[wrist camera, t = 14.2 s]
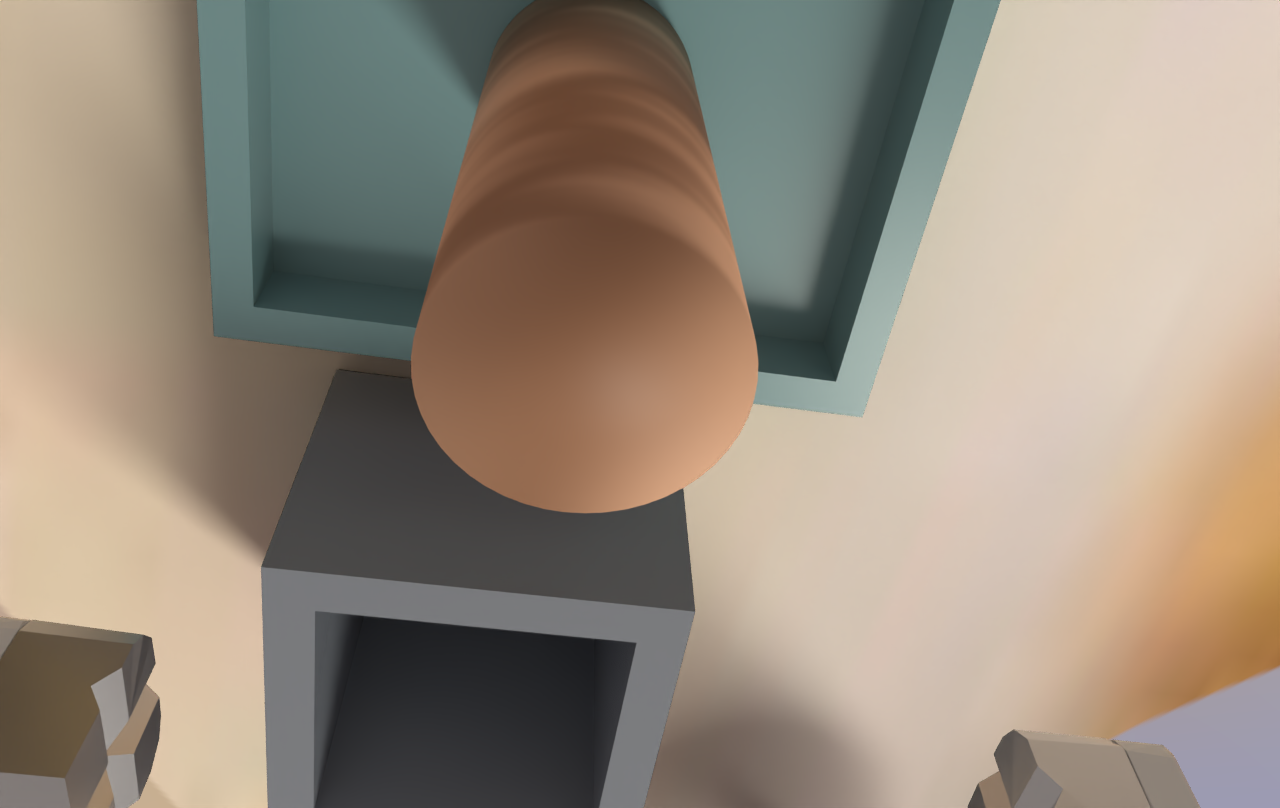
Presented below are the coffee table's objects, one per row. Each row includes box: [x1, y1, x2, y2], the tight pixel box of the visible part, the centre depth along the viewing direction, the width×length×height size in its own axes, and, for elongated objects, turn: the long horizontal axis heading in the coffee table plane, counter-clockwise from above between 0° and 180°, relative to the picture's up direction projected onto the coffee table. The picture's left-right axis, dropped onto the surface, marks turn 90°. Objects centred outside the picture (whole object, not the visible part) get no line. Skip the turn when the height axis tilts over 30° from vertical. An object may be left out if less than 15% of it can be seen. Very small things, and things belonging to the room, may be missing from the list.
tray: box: [197, 0, 1001, 417], centre depth 26 cm, size 17×14×3 cm
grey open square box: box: [261, 370, 695, 808], centre depth 32 cm, size 10×10×8 cm
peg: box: [411, 0, 758, 513], centre depth 21 cm, size 5×5×13 cm
